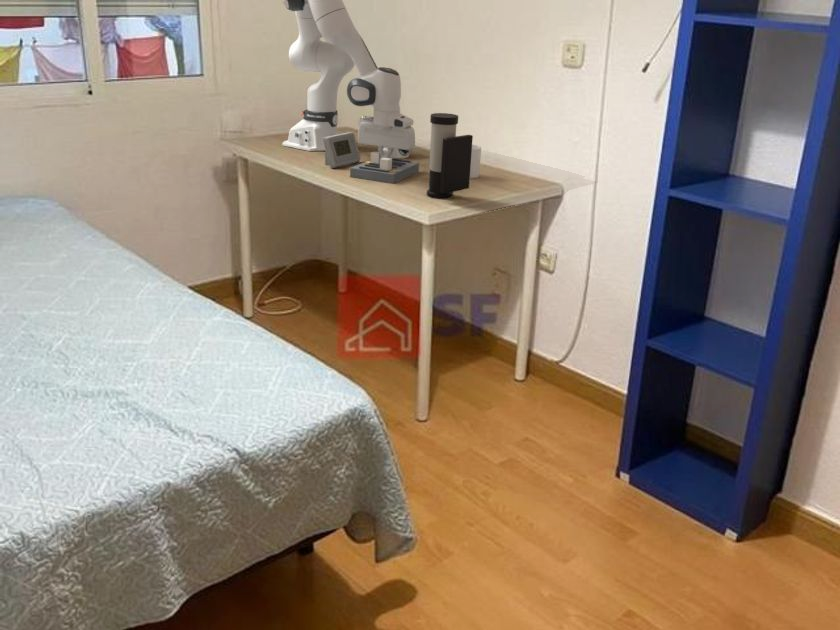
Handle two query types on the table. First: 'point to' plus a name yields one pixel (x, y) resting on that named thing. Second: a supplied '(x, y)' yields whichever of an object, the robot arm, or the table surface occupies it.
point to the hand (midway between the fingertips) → (385, 159)
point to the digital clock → (341, 150)
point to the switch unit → (385, 171)
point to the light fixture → (448, 157)
